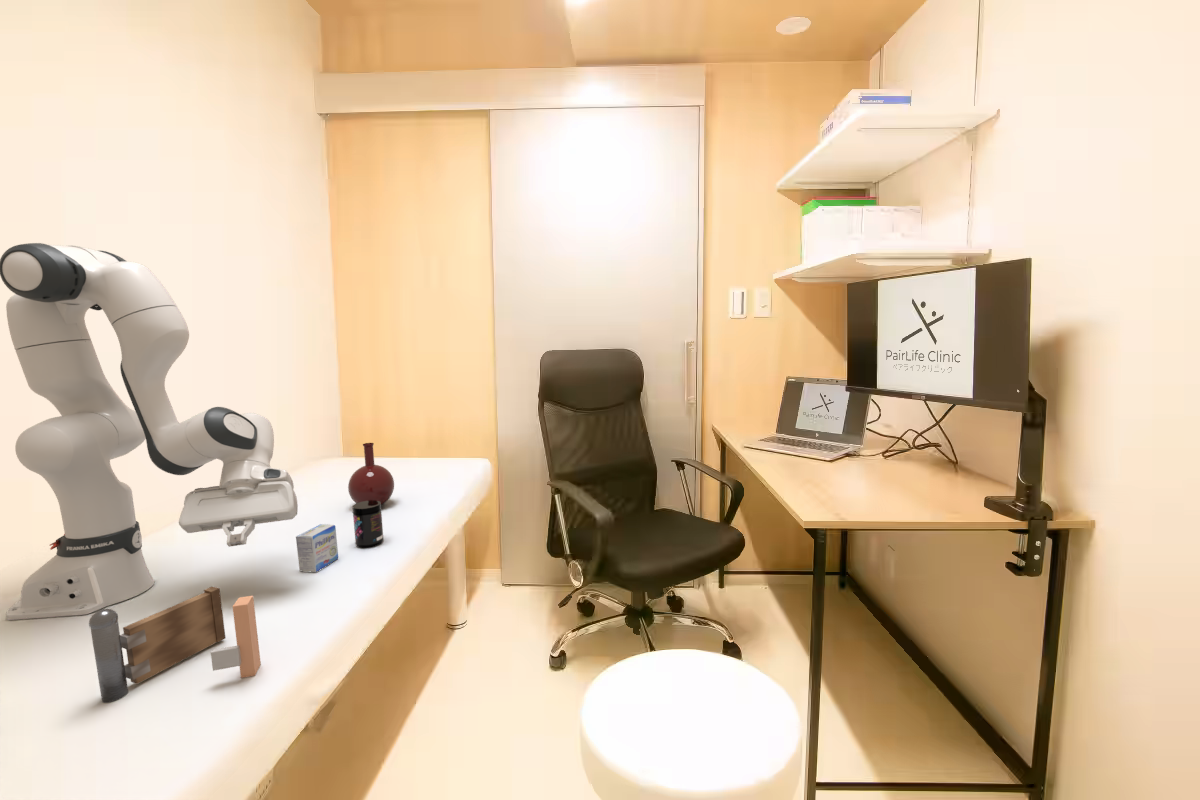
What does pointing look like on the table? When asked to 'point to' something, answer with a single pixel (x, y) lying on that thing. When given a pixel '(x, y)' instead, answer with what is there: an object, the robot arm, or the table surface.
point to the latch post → (241, 641)
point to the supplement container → (368, 523)
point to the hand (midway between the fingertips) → (236, 544)
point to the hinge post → (108, 655)
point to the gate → (173, 635)
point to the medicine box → (317, 547)
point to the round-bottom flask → (370, 480)
